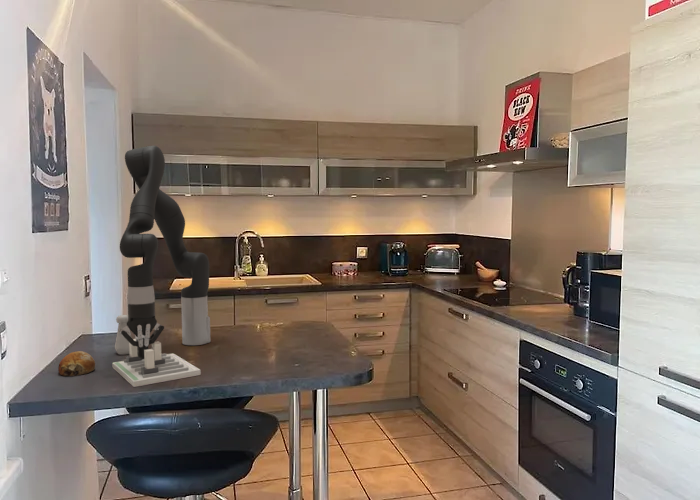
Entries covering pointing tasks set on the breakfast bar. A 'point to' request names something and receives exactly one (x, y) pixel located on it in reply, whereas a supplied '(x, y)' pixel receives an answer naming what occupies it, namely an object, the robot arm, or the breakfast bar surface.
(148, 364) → the breaker
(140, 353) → the robot arm
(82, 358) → the bread roll
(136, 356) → the breaker
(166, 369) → the panel
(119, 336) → the salt shaker
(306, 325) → the breakfast bar surface
